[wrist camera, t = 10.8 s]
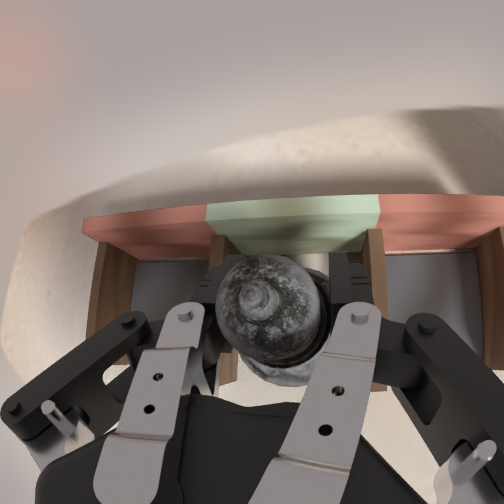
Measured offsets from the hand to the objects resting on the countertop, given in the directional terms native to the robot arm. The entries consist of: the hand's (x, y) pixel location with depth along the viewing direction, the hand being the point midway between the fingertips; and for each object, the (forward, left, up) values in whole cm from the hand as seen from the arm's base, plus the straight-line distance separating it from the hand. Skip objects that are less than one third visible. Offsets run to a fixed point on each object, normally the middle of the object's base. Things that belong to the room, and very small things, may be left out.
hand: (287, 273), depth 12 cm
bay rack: (0, +1, -7) cm, 7 cm away
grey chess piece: (0, +2, -6) cm, 6 cm away
